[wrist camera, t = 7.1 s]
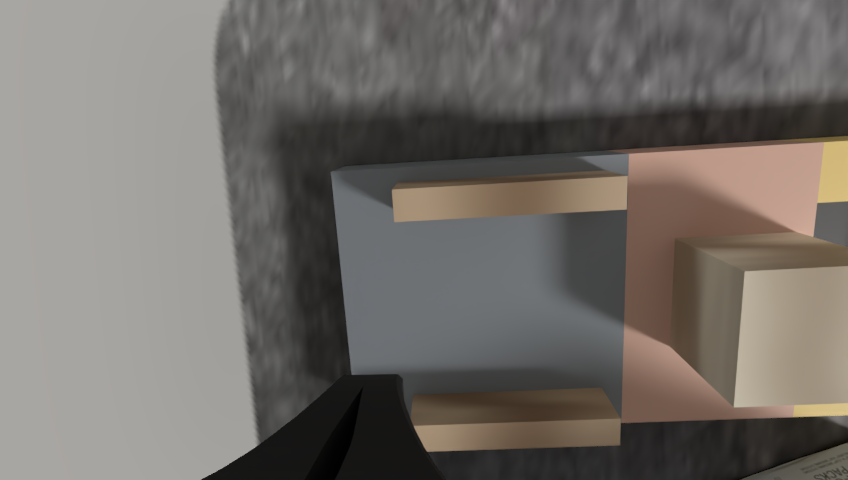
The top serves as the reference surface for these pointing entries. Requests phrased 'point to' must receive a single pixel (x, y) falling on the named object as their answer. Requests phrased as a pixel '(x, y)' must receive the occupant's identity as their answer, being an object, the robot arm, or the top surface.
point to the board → (569, 272)
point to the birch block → (763, 317)
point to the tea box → (811, 467)
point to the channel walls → (513, 410)
